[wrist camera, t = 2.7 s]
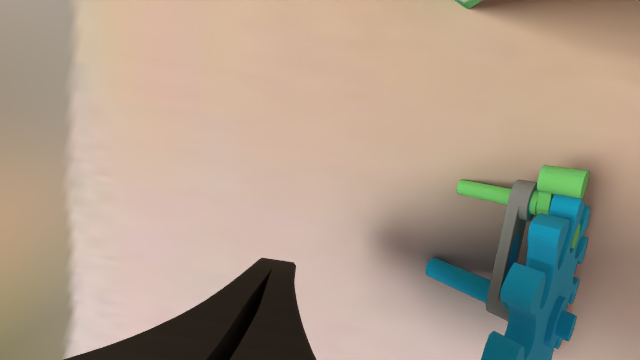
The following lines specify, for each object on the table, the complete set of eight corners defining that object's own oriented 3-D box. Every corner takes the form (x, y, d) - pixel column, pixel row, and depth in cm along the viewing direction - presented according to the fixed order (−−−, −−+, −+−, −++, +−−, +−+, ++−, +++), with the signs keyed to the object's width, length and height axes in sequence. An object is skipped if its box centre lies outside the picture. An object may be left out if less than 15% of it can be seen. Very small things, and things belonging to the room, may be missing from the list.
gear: (568, 383, 16) (499, 535, 9) (456, 322, 20) (354, 394, 13) (625, 173, 14) (591, 173, 7) (489, 157, 18) (392, 147, 12)
